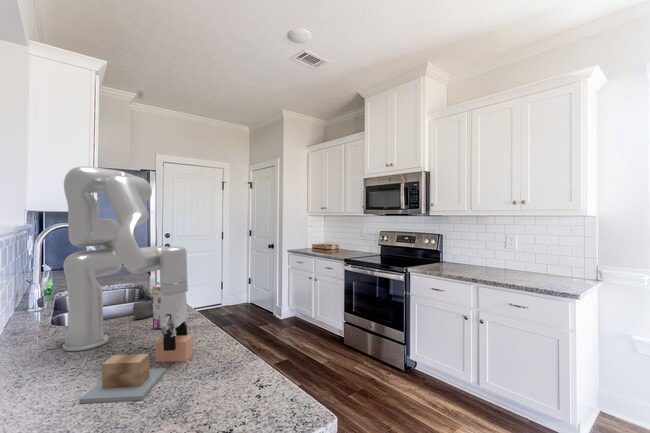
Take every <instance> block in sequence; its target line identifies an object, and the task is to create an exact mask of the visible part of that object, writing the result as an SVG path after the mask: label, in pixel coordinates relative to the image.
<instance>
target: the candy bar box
mask: <svg viewBox="0 0 650 433" xmlns="http://www.w3.org/2000/svg"><path fill="white" fill-rule="evenodd" d="M161 296H162V295H161V289H160V284H157V285H153V286H152V300H153V316H152V329H153V330H162V329H161V328H160V304H161ZM168 326H173V325H168ZM175 331H176V328H175Z"/></svg>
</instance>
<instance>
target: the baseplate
mask: <svg viewBox="0 0 650 433" xmlns="http://www.w3.org/2000/svg"><path fill="white" fill-rule="evenodd" d="M166 372H167V367H164V368H163V367H162V368H158V367H156V368H149V375H150V376H149V378H148V379H147V380H146V381H145V382H144V383H143V384H142V385H141V386H138V387H118V388H102V379H101V380H100V381H99V382H98V383H97V384H95V385H94V386H93V387H92V388H91V389H89V390H88V391H87V392H85V394H84V395H83V396H81V397H80V398H79V400H78V401H79V403H78V404H92V403H95V404H96V403H109V402H110V403H115V402H129V401H130V402H131V401H134V402H135V401H143V400H144V399H145V398H146V396H147V395H148V394H149V393H150V392H151V390H152V389H153V388H154V387H155V386H156V385H157V383H158V382H159V381H160V380H161V378H163V376H164V375H165V373H166Z"/></svg>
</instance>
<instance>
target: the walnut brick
mask: <svg viewBox="0 0 650 433" xmlns="http://www.w3.org/2000/svg"><path fill="white" fill-rule="evenodd" d="M101 369H102V370H101V376H102V377H101V380H102V388H118V387H138V386H141V385H142V384H143V383H144V382H145V381H146V380H147V379H148V378H149V376H150V375H149V369H150V353H140V354H139V353H137V354H136V353H134V354H113V355H112V356H110V357H109V358H108V359H107V360H105V361H104V362H103V363H101Z"/></svg>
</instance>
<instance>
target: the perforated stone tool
mask: <svg viewBox="0 0 650 433" xmlns="http://www.w3.org/2000/svg"><path fill="white" fill-rule="evenodd" d="M132 309H133V314H134V315H133V316H134V317H135V319H136V320H138V319H139V320H141V319H146V317H147V318H151V317H153V299H152V300H146V301H140V302H134V303H133V306H132ZM150 316H151V317H150Z"/></svg>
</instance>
